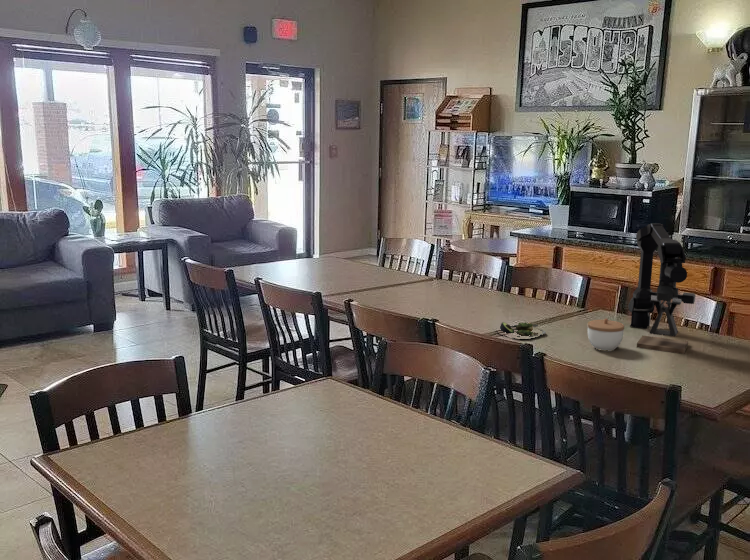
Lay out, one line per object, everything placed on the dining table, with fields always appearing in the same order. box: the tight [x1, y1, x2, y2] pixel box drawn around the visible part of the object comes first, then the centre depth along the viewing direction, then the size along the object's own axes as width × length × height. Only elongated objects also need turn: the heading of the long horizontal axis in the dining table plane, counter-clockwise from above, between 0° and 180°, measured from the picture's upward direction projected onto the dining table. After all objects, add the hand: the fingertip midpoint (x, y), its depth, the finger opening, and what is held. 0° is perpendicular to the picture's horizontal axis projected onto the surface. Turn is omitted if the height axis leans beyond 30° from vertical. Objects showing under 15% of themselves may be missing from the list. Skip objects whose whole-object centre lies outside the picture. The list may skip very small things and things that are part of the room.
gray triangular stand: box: [648, 300, 679, 338], centre depth 256 cm, size 9×6×12 cm, turn 60°
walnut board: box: [636, 335, 689, 355], centre depth 258 cm, size 16×12×2 cm
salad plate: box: [500, 321, 546, 337], centre depth 276 cm, size 19×18×5 cm
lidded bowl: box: [587, 318, 625, 352], centre depth 255 cm, size 13×13×11 cm
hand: (664, 319), depth 256 cm, fingers closed on gray triangular stand, 3 cm apart
